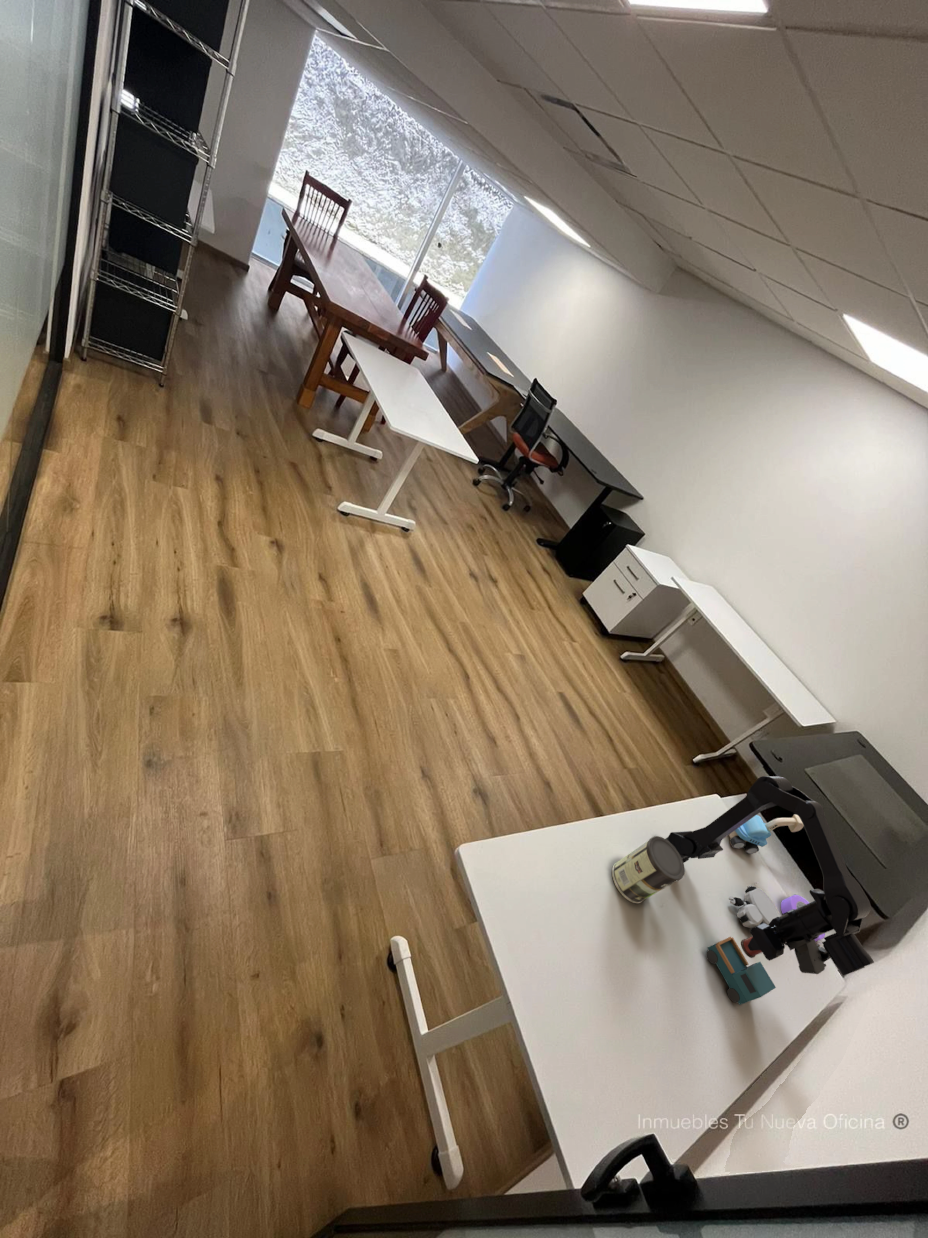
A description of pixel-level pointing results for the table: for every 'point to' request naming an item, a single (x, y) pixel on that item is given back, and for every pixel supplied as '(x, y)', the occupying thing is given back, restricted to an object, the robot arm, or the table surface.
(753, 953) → the figure
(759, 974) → the truck
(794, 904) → the tape roll
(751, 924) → the robot toy
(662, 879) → the coffee can
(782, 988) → the table surface
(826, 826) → the robot arm
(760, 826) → the toy excavator
